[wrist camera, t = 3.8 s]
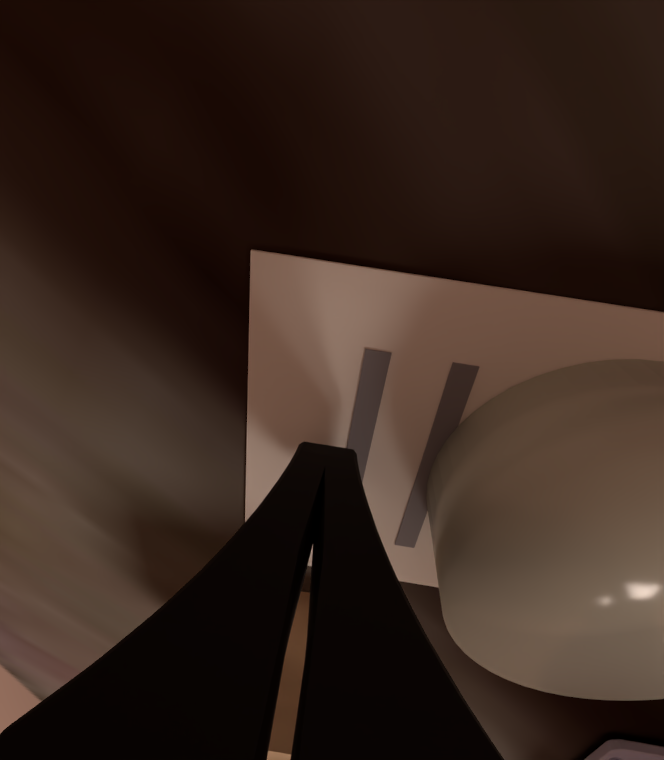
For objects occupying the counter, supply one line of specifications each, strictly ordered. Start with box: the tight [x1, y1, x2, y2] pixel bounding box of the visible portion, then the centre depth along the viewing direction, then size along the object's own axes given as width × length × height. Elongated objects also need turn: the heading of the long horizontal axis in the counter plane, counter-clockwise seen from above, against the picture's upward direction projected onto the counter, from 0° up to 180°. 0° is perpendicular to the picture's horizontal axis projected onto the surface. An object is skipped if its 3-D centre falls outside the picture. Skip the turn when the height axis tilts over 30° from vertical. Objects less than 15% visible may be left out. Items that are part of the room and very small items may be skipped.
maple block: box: [267, 591, 310, 760], centre depth 14 cm, size 4×4×4 cm
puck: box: [426, 359, 664, 701], centre depth 9 cm, size 8×8×3 cm
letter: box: [245, 249, 664, 588], centre depth 11 cm, size 10×14×1 cm
